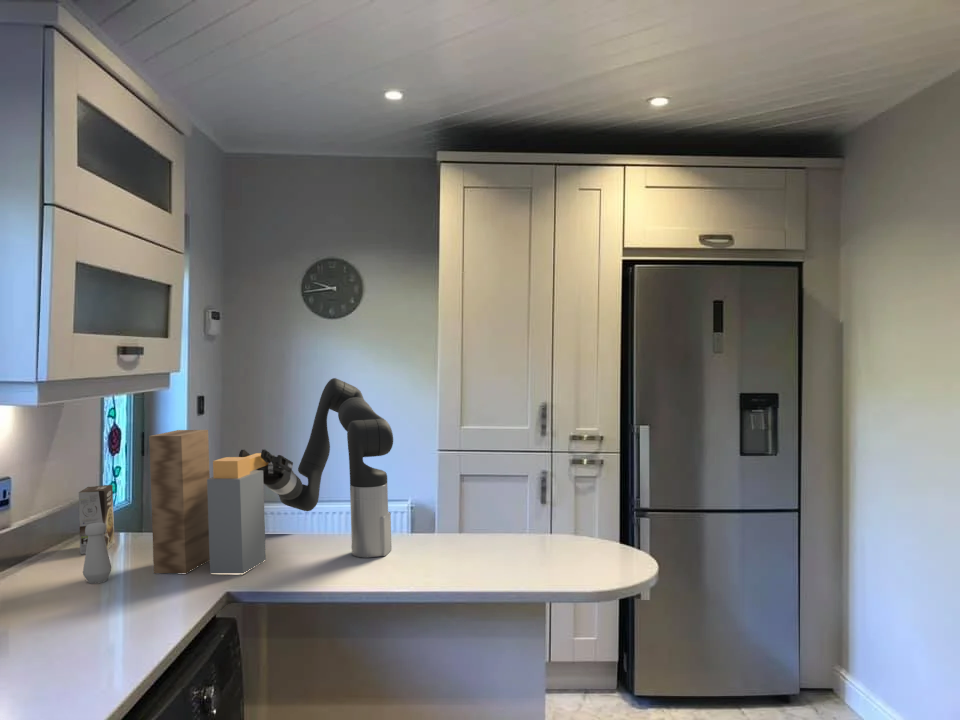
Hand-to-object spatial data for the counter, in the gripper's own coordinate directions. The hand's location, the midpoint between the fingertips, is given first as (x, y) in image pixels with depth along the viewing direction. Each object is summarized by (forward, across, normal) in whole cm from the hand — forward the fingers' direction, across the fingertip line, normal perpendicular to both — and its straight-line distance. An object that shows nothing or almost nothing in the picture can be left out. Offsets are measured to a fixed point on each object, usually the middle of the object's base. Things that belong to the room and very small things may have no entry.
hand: (252, 453), depth 184 cm
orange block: (+2, 0, +5) cm, 6 cm away
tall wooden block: (-5, -14, +27) cm, 31 cm away
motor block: (-5, 0, +27) cm, 27 cm away
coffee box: (-17, -46, +20) cm, 53 cm away
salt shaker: (+5, -28, +33) cm, 43 cm away
